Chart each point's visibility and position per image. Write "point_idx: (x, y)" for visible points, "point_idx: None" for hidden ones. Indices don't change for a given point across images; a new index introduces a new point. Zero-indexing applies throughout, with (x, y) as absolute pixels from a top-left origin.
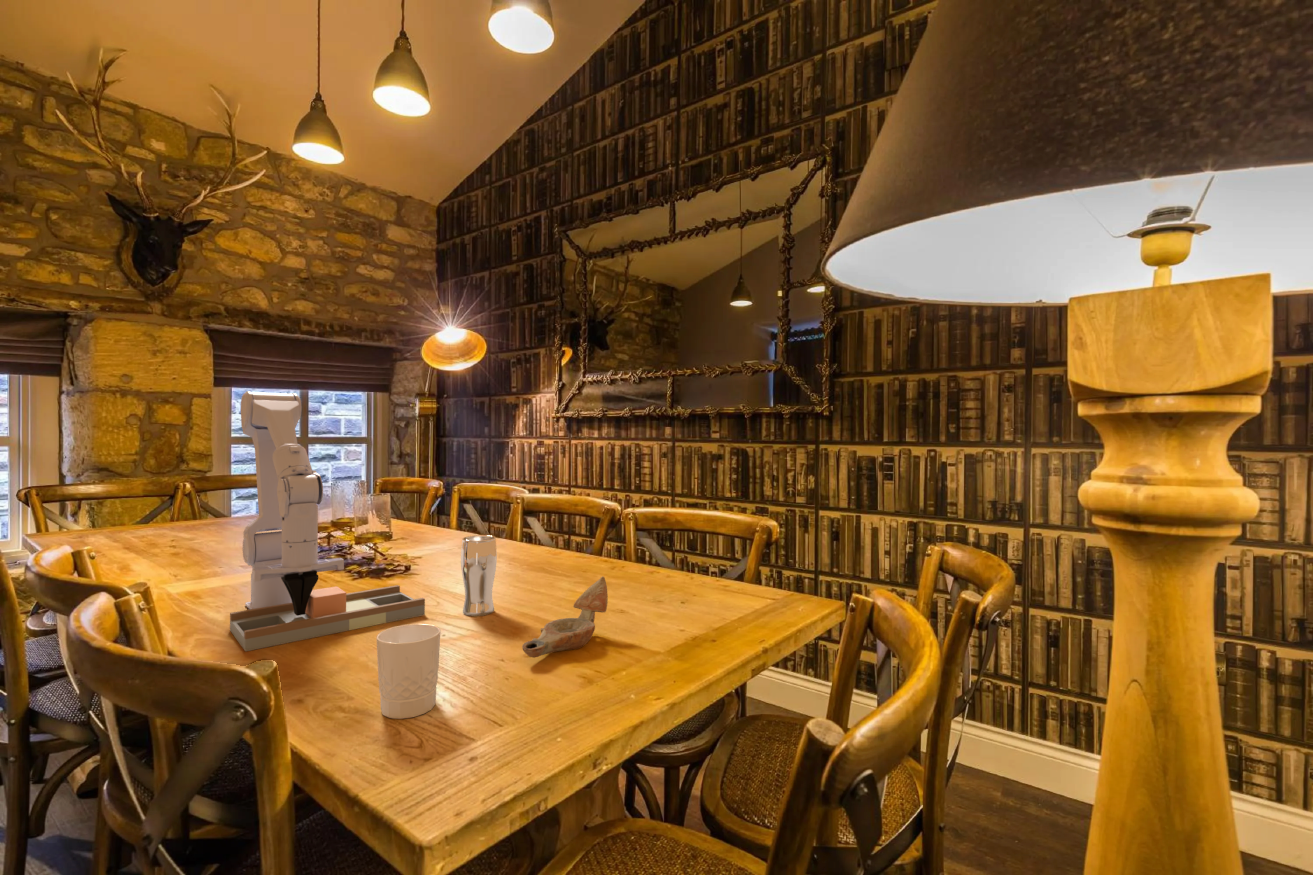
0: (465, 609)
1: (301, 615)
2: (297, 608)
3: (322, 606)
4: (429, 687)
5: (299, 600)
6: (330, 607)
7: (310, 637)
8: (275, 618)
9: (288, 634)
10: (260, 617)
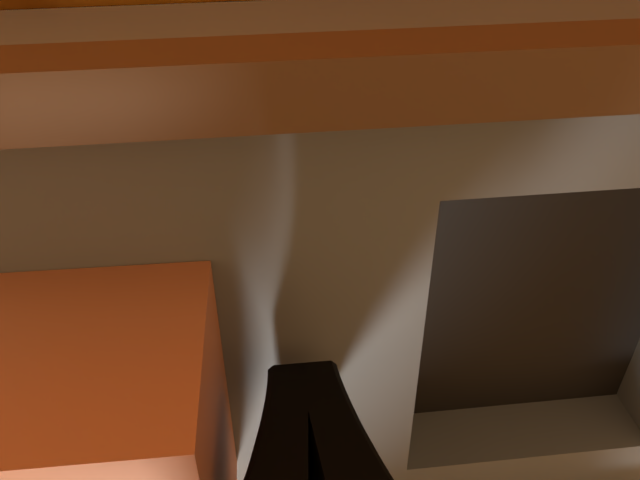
0: None
1: None
2: (347, 404)
3: (103, 354)
4: None
5: (343, 475)
6: (18, 339)
7: (275, 2)
8: (419, 451)
9: (497, 10)
10: (504, 475)
